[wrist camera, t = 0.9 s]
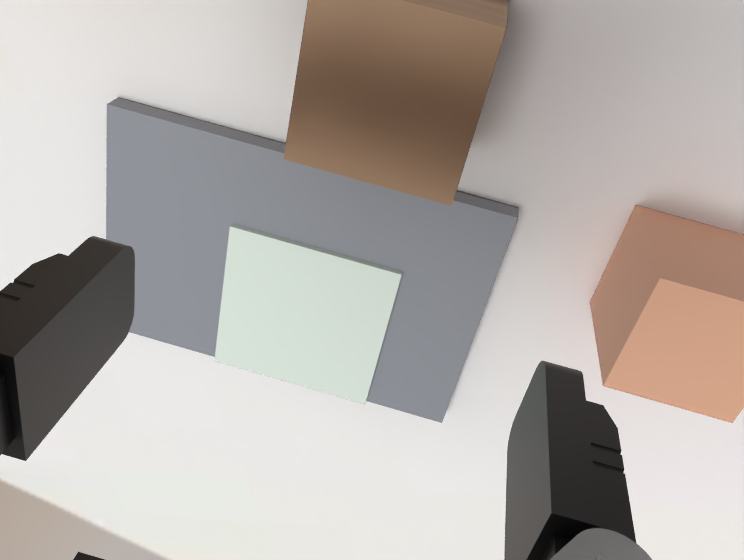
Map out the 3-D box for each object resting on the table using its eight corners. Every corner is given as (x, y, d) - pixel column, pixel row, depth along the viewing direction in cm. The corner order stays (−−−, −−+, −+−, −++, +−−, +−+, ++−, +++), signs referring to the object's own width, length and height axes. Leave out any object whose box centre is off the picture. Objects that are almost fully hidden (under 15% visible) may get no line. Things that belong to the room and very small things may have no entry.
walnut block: (352, -47, 26) (311, -24, 21) (509, -6, 26) (506, 27, 20) (324, 107, 29) (283, 159, 24) (463, 145, 29) (451, 205, 24)
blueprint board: (118, 97, 30) (103, 106, 29) (518, 207, 30) (518, 221, 28) (115, 314, 37) (103, 328, 36) (443, 409, 36) (441, 426, 35)
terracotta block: (635, 204, 29) (660, 278, 24) (754, 237, 28) (805, 318, 23) (589, 301, 31) (602, 385, 26) (698, 331, 31) (732, 422, 26)
